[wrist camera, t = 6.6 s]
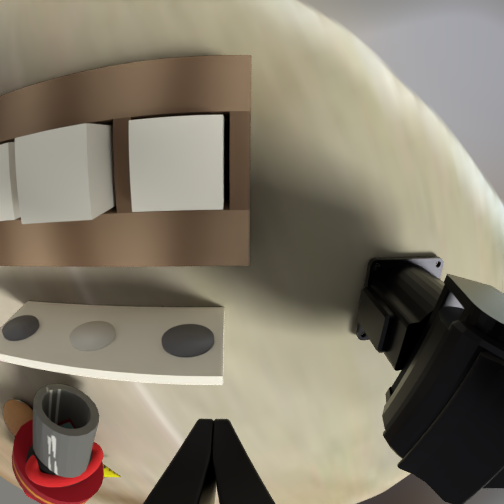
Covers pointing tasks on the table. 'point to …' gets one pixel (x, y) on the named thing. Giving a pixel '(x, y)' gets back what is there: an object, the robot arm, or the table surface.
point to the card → (118, 342)
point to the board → (121, 216)
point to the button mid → (65, 173)
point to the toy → (56, 445)
